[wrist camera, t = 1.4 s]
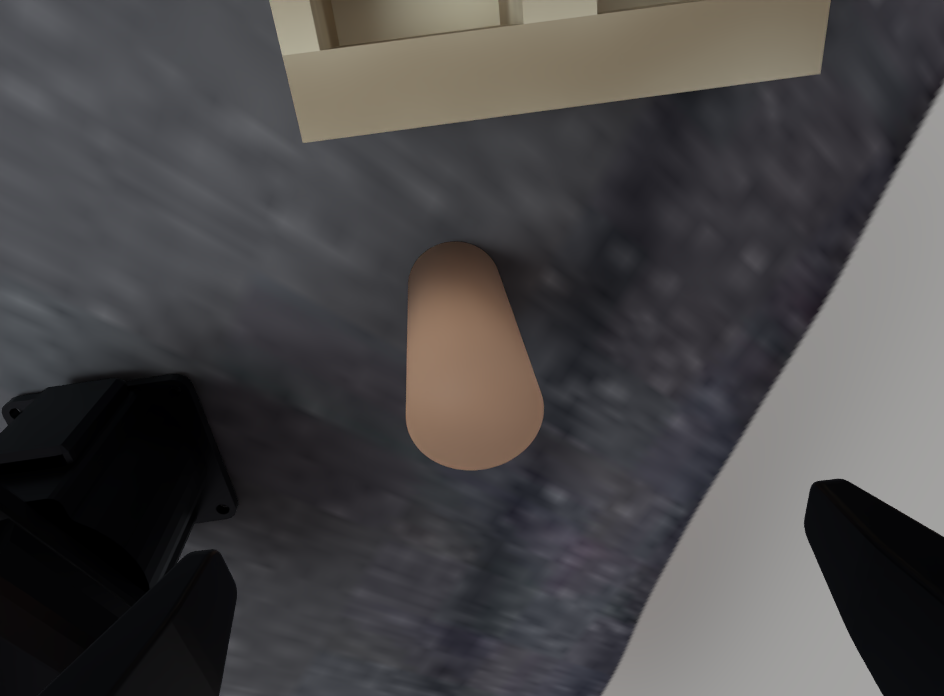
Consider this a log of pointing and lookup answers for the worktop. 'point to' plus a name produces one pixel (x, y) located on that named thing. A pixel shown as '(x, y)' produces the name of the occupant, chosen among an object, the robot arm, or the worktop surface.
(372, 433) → the worktop surface
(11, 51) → the worktop surface
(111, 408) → the robot arm
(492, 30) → the socket block
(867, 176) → the worktop surface
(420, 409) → the peg
